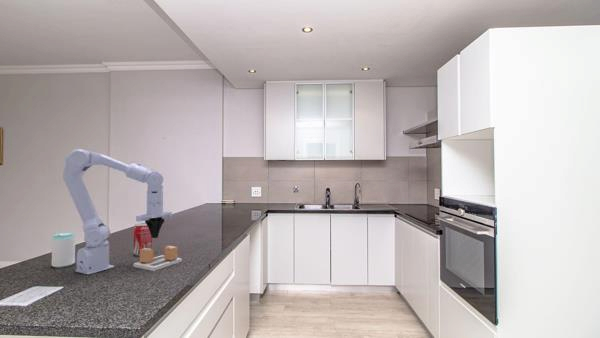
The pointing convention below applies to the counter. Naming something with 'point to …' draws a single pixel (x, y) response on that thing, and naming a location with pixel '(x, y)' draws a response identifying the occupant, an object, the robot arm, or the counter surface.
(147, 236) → the soda can
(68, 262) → the white lidded container
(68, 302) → the counter surface
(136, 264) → the switch bank
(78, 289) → the counter surface
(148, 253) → the tab far
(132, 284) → the counter surface
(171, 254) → the tab near
